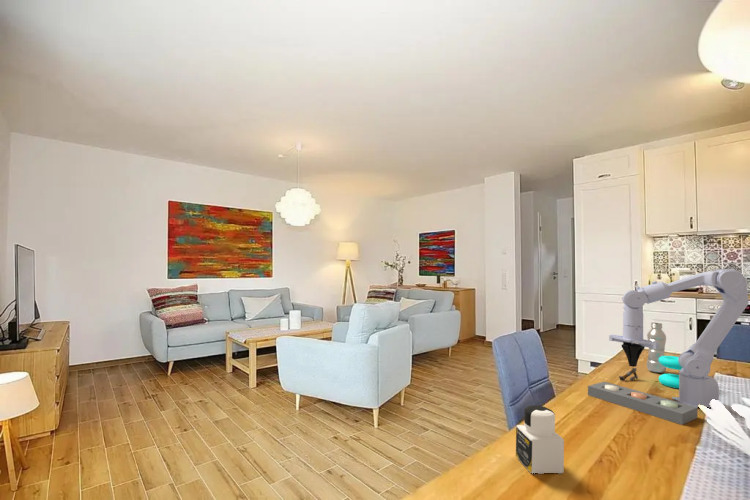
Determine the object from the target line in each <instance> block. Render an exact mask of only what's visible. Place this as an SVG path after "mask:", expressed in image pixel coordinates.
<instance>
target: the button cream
mask: <svg viewBox="0 0 750 500" xmlns="http://www.w3.org/2000/svg"><path fill="white" fill-rule="evenodd" d="M605 389H608V390H612V391H615V392H616V391H619V387H617V386H614V385H605Z"/></svg>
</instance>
